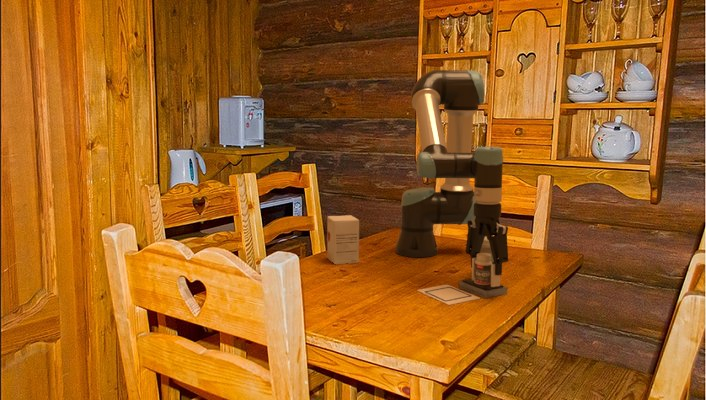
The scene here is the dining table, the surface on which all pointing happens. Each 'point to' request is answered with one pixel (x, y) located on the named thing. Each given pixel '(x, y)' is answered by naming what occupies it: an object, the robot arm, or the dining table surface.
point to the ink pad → (482, 289)
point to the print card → (448, 294)
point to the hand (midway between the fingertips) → (485, 282)
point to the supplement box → (343, 239)
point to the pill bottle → (483, 269)
